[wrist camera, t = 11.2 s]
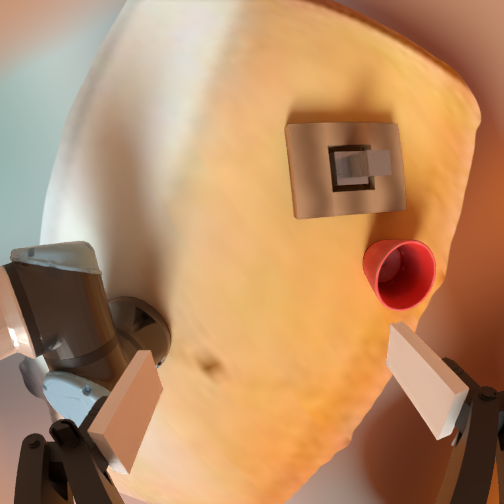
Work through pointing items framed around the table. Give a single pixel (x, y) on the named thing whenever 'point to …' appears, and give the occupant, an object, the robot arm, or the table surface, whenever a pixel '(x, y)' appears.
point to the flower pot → (400, 272)
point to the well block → (319, 175)
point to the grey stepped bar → (358, 166)
